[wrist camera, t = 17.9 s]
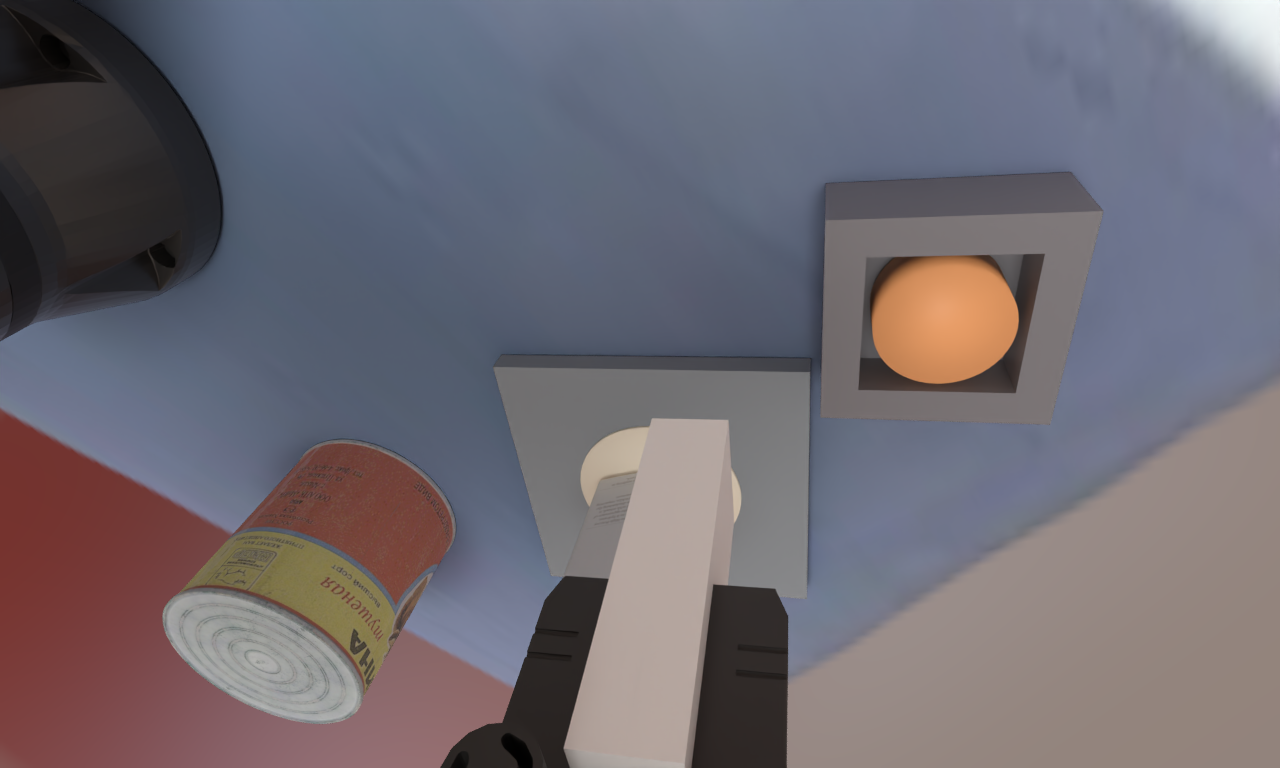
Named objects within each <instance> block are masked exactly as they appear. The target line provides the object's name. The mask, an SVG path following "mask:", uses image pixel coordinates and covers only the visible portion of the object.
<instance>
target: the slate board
mask: <svg viewBox="0 0 1280 768" xmlns="http://www.w3.org/2000/svg"><path fill="white" fill-rule="evenodd" d="M810 365H811V358H733V357H647V356H562V355H501V356H500V358H499V359H498V360H497V362H496V363H495V365H494V366H493V369H494V373H495V376H496V380H497V383H498V387H499V391H500V394H501V398H502V401H503V405H504V409H505V412H506V416H507V419H508V423H509V426H510V430H511V434H512V437H513V441H514V444H515V448H516V452H517V455H518V459H519V462H520V466H521V470H522V473H523V477H524V480H525V484H526V487H527V491H528V495H529V498H530V502H531V505H532V509H533V513H534V516H535V520H536V523H537V527H538V531H539V534H540V538H541V541H542V545H543V548H544V552H545V556H546V559H547V563H548V566H549V570H550V574H551V576H559V577H563V576H564V573H565V571H566V568H567V565H568V563H569V560H570V558H571V555H572V552H573V549H574V547H575V544H576V542H577V539H578V536H579V534H580V531H581V528H582V526H583V523H584V520H585V518H586V515H587V513H588V510H589V507H590V505H591V502H592V499H593V497H594V494H595V492H596V489H597V486H598V484H599V482H600V481H601V480H604V479H609V478H614V477H619V476H624V475H629V474H634V473H637V472H638V468H639V464H640V461H641V457H642V453H643V450H644V446H645V442H646V438H647V435H648V431H649V427H650V423H651V420H652V418H659V419H709V420H728V421H729V438H730V456H731V474H732V492H733V509H734V527H733V537H732V547H731V557H730V567H729V577H728V585H730V586H744V587H758V588H773V589H776V591H777V594H778V596H779V597H789V598H800V599H807V562H808V497H809V431H810Z"/></svg>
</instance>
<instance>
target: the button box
mask: <svg viewBox="0 0 1280 768" xmlns="http://www.w3.org/2000/svg"><path fill="white" fill-rule="evenodd" d="M1102 215H1103V210H1102V209H1101V208H1100V206H1099V205H1098V204H1097V203H1096V202H1095V200H1094V199H1093V198H1092V197H1091V196H1090V194H1089V193H1088V192H1087V191H1086V190H1085V188H1084V187H1083V186H1082V185H1081V184H1080V182H1079V181H1078V180H1077V179H1076V178H1075V177H1074V175H1073V174H1072V173H1071V172H1062V173H1040V174H1019V175H997V176H975V177H953V178H931V179H910V180H888V181H866V182H844V183H826V195H825V235H824V275H823V315H822V354H821V418H853V419H885V420H918V421H950V422H982V423H1014V424H1047V425H1050V423H1051V419H1052V415H1053V411H1054V407H1055V403H1056V399H1057V395H1058V391H1059V387H1060V383H1061V379H1062V375H1063V371H1064V367H1065V363H1066V359H1067V355H1068V351H1069V347H1070V343H1071V339H1072V335H1073V331H1074V327H1075V323H1076V319H1077V315H1078V311H1079V307H1080V303H1081V299H1082V295H1083V291H1084V287H1085V283H1086V279H1087V275H1088V271H1089V267H1090V263H1091V259H1092V255H1093V251H1094V247H1095V243H1096V239H1097V235H1098V231H1099V227H1100V223H1101V219H1102ZM960 255H990V256H991V257H992V258H993V259H994V260H995V261H996V263H997V264H998V265H999V267H1000V269H1001V270H1002V273H1003V275H1004V277H1005V279H1006V281H1007V284H1008V286H1009V288H1010V290H1011V293H1012V295H1013V297H1014V299H1015V302H1016V304H1017V308H1018V315H1019V322H1018V329H1017V333H1016V336H1015V338H1014V341H1013V343H1012V344H1011V346H1010V348H1009V349H1008V351H1007V352H1006V353H1005V354H1004V356H1003V357H1002V358H1001V359H1000V360H999V361H998V362H996V363H995V364H994V365H993V366H991V367H990V368H989V369H987V370H985V371H984V372H982V373H980V374H978V375H976V376H974V377H971V378H968V379H965V380H962V381H957V382H952V383H942V384H933V383H924V382H918V381H915V380H912V379H909V378H906V377H904V376H902V375H900V374H899V373H897V372H895V371H894V370H893V369H891V368H890V367H889V366H888V365H887V364H886V363H885V362H884V361H883V360H882V358H881V357H880V355H879V353H878V352H877V350H876V347H875V344H874V340H873V333H872V323H871V313H870V296H871V291H872V288H873V285H874V283H875V281H876V279H877V277H878V275H879V274H880V272H881V271H882V270H883V269H884V267H885V266H886V265H887V264H888V263H889V262H890V261H891V260H892V259H894V258H895V257H913V256H960Z"/></svg>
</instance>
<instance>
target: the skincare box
mask: <svg viewBox="0 0 1280 768" xmlns="http://www.w3.org/2000/svg"><path fill="white" fill-rule="evenodd" d="M636 476H637V473H634V474H629V475H624V476H619V477H614V478H609V479H604V480H601V481H600V482H599V484H598V486H597V489H596V492H595V494H594V497H593V499H592V502H591V505H590V507H589V510H588V513H587V515H586V518H585V520H584V523H583V526H582V528H581V531H580V534H579V536H578V539H577V542H576V544H575V547H574V549H573V552H572V555H571V558H570V560H569V563H568V565H567V568H566V571H565V573H564V576H563V578H564V577H565V576H577V577H591V578H605V579H609V577H610V573H611V569H612V565H613V562H614V558H615V554H616V550H617V547H618V543H619V539H620V536H621V532H622V528H623V524H624V521H625V517H626V513H627V509H628V506H629V502H630V498H631V494H632V491H633V487H634V483H635V479H636Z"/></svg>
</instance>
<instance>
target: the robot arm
mask: <svg viewBox="0 0 1280 768" xmlns="http://www.w3.org/2000/svg"><path fill="white" fill-rule="evenodd" d="M220 219H221V208H220V197H219V191H218V185H217V181H216V177H215V173H214V170H213V166H212V163H211V161H210V158H209V155H208V152H207V150H206V148H205V145H204V143H203V141H202V139H201V137H200V135H199V132H198V130H197V128H196V127H195V125H194V123H193V121H192V119H191V118H190V116H189V114H188V113H187V111H186V109H185V108H184V106H183V105H182V103H181V102H180V100H179V99H178V97H177V96H176V94H175V93H174V91H173V90H172V89H171V87H170V86H169V85H168V83H167V82H166V81H165V80H164V78H163V77H162V76H161V75H160V74H159V72H158V71H157V70H156V69H155V68H154V67H153V65H152V64H151V63H150V62H149V61H148V60H147V59H146V58H145V57H144V56H143V55H142V54H141V53H140V52H139V51H138V50H137V49H136V48H135V47H134V46H133V45H132V44H131V43H130V42H129V41H128V40H127V39H126V38H125V37H123V36H122V35H121V34H120V33H119V32H117V31H116V30H115V29H114V28H113V27H111V26H110V25H109V24H107V23H106V22H105V21H103V20H102V19H101V18H99V17H98V16H96V15H95V14H93V13H92V12H90V11H89V10H87V9H86V8H84V7H82V6H81V5H79V4H77V3H76V2H74V1H72V0H0V341H2V340H3V339H5V338H7V337H9V336H11V335H12V334H14V333H16V332H18V331H20V330H21V329H23V328H25V327H27V326H29V325H31V324H33V323H36V322H40V321H45V320H50V319H55V318H60V317H65V316H70V315H75V314H80V313H85V312H90V311H95V310H100V309H105V308H110V307H115V306H120V305H125V304H130V303H135V302H139V301H143V300H147V299H150V298H152V297H155V296H158V295H160V294H162V293H164V292H166V291H168V290H169V289H171V288H172V287H174V286H176V285H177V284H179V283H181V282H182V281H184V280H185V279H187V278H189V277H190V276H192V275H193V274H195V273H196V272H197V271H198V270H200V269H201V268H202V267H203V265H204V264H205V263H206V262H207V260H208V259H209V258H210V256H211V254H212V252H213V250H214V248H215V245H216V242H217V239H218V235H219V229H220ZM733 527H734V509H733V492H732V474H731V456H730V438H729V421H728V420H709V419H659V418H652V420H651V423H650V427H649V431H648V435H647V438H646V442H645V446H644V450H643V453H642V457H641V461H640V464H639V468H638V472H637V476H636V479H635V483H634V487H633V491H632V494H631V498H630V502H629V506H628V509H627V513H626V517H625V521H624V524H623V528H622V532H621V536H620V539H619V543H618V547H617V550H616V554H615V558H614V562H613V565H612V569H611V573H610V577H609V579H605V578H591V577H577V576H565V577H564V578H563V579H562V580H561V581H560V583H559V584H558V585H557V586H556V587H555V589H554V590H553V591H552V592H551V593H550V594H549V596H548V597H547V598H546V599H545V601H544V604H543V607H542V610H541V613H540V616H539V619H538V622H537V625H536V627H535V634H533V636H532V639H531V642H530V645H529V648H528V650H527V657H525V659H524V662H523V665H522V668H521V671H520V674H519V676H518V679H517V682H516V685H515V688H514V691H513V694H512V697H511V699H510V702H509V705H508V708H507V711H506V714H505V717H504V720H503V723H496V724H487V725H485V726H483V727H481V728H479V729H476V730H474V731H472V732H470V733H468V734H467V735H466V736H465V737H464V738H463V739H461V740H460V741H459V742H458V743H457V744H456V745H455V746H454V747H453V748H452V749H451V750H450V752H449V754H448V756H447V757H446V759H445V761H444V762H443V764H442V766H441V768H787V697H788V615H787V613H786V611H785V609H784V607H783V605H782V602H781V600H780V598H779V596H778V594H777V591H776V589H773V588H758V587H744V586H730V585H728V577H729V567H730V557H731V547H732V537H733Z"/></svg>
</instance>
